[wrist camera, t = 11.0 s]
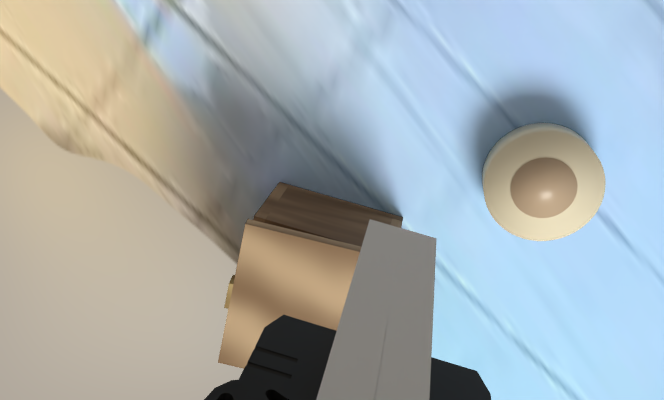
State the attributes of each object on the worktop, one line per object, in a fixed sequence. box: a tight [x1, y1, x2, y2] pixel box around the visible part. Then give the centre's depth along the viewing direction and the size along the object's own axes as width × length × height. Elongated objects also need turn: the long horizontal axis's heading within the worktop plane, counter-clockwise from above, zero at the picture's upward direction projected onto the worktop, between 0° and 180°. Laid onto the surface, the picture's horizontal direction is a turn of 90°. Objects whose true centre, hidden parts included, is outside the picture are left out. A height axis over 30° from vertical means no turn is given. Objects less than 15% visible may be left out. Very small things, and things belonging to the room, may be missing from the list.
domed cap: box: [482, 123, 605, 241], centre depth 44 cm, size 8×8×3 cm
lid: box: [218, 219, 361, 368], centre depth 43 cm, size 11×10×1 cm
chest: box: [253, 182, 403, 247], centre depth 47 cm, size 11×10×7 cm
